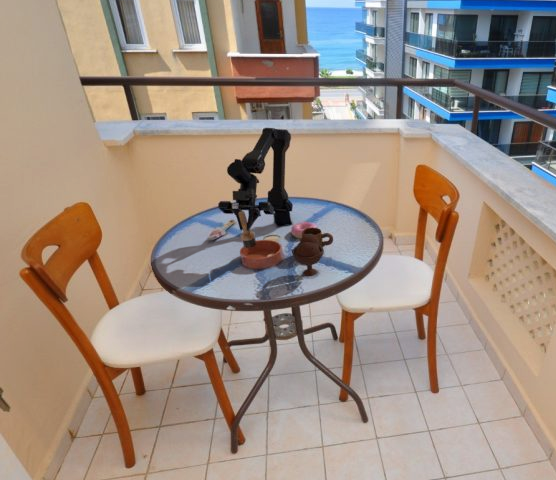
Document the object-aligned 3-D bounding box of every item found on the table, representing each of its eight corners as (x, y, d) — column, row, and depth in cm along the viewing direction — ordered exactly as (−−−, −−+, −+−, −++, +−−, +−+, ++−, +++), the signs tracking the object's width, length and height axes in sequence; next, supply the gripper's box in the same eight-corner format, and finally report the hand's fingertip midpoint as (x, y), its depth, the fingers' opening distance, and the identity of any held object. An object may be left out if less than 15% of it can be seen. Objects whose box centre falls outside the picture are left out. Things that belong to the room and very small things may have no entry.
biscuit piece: (277, 255, 159) (276, 252, 158) (278, 260, 156) (278, 257, 155) (266, 257, 157) (266, 254, 157) (268, 262, 154) (267, 259, 154)
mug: (336, 250, 163) (335, 228, 158) (332, 259, 157) (330, 237, 152) (307, 248, 165) (304, 226, 159) (301, 257, 158) (298, 235, 153)
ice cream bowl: (295, 266, 153) (290, 229, 144) (326, 265, 153) (323, 228, 145) (293, 282, 144) (287, 243, 135) (325, 280, 145) (321, 242, 136)
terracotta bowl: (279, 247, 165) (277, 237, 163) (287, 265, 154) (285, 254, 151) (239, 254, 160) (237, 243, 158) (245, 273, 149) (242, 262, 146)
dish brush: (251, 240, 157) (242, 208, 149) (259, 243, 154) (251, 211, 147) (240, 246, 153) (231, 213, 146) (248, 249, 151) (239, 216, 143)
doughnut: (313, 227, 181) (312, 218, 178) (321, 237, 173) (320, 228, 170) (288, 231, 177) (287, 222, 175) (295, 242, 169) (294, 233, 166)
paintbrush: (204, 235, 166) (228, 218, 183) (205, 242, 168) (229, 223, 184) (212, 236, 166) (236, 218, 182) (214, 242, 167) (237, 224, 184)
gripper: (213, 179, 144) (209, 221, 141) (266, 180, 143) (263, 222, 141) (226, 192, 155) (222, 232, 152) (275, 193, 154) (272, 233, 152)
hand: (244, 230), depth 149 cm, fingers closed on dish brush, 2 cm apart
